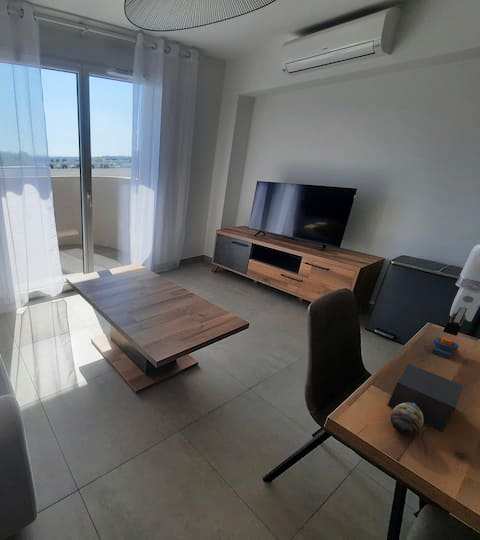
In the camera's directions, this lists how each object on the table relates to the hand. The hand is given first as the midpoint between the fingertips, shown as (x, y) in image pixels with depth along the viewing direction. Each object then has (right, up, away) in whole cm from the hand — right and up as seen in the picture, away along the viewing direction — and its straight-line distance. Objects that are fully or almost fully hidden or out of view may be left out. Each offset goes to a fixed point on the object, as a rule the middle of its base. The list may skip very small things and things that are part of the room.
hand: (449, 332), depth 97 cm
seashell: (-37, -21, -22) cm, 48 cm away
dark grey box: (-26, -18, -15) cm, 35 cm away
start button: (+7, -5, +7) cm, 11 cm away
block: (+7, -8, +8) cm, 13 cm away
